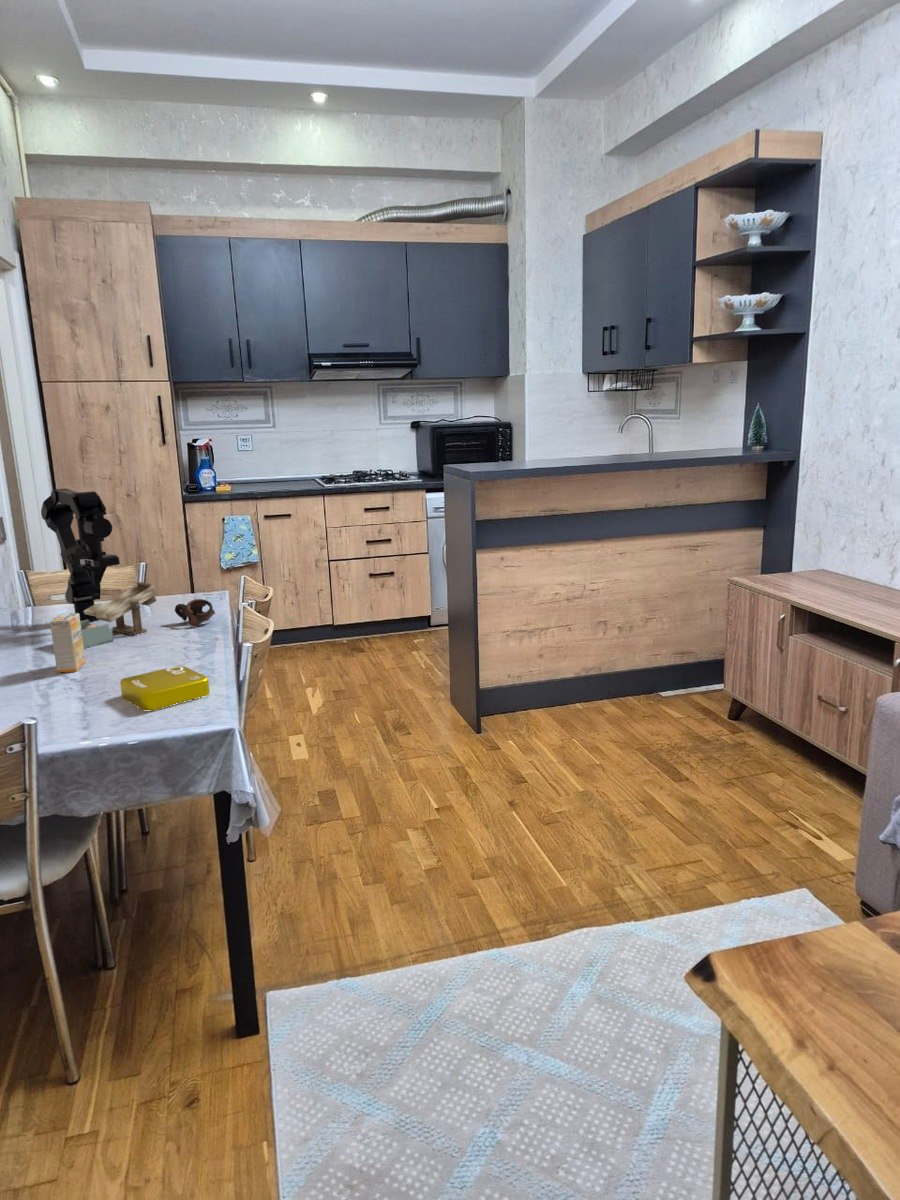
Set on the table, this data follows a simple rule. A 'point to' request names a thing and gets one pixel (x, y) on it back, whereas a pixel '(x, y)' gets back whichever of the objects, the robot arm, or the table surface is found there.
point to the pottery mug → (194, 611)
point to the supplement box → (67, 642)
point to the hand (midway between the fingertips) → (96, 587)
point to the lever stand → (136, 622)
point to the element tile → (164, 687)
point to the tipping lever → (123, 603)
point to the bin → (95, 634)
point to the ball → (90, 626)
